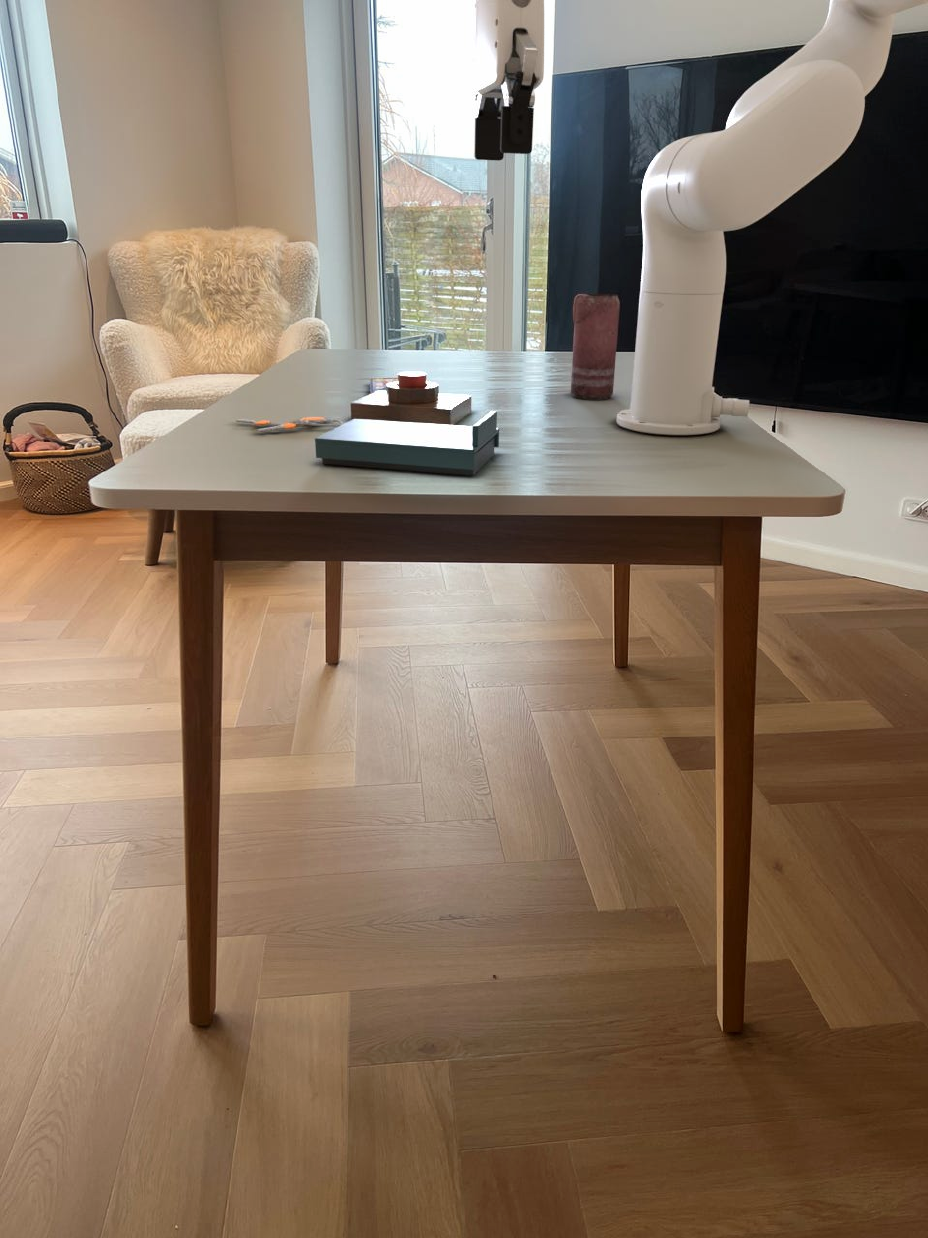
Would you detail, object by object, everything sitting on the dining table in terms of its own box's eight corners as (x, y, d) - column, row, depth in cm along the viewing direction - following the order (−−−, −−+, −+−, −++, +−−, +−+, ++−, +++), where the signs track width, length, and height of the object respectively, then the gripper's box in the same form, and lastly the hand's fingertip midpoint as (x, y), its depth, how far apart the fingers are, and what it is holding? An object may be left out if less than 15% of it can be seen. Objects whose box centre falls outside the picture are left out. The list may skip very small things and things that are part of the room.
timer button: (430, 386, 112) (429, 372, 111) (421, 390, 109) (421, 376, 108) (403, 384, 113) (403, 370, 112) (394, 389, 110) (393, 375, 109)
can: (565, 393, 129) (570, 292, 124) (607, 392, 130) (614, 292, 124) (573, 400, 124) (579, 295, 118) (616, 399, 124) (625, 295, 119)
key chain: (340, 418, 110) (340, 411, 109) (345, 430, 103) (345, 423, 103) (236, 421, 107) (235, 414, 107) (234, 434, 101) (234, 426, 100)
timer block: (471, 412, 115) (471, 381, 114) (450, 427, 106) (450, 393, 105) (378, 406, 118) (377, 376, 117) (351, 420, 109) (349, 388, 108)
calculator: (494, 455, 93) (494, 435, 92) (473, 476, 85) (473, 455, 85) (354, 445, 97) (354, 426, 96) (322, 464, 89) (320, 443, 88)
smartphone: (370, 402, 121) (370, 384, 135) (423, 400, 122) (417, 382, 135) (370, 395, 121) (369, 378, 134) (423, 393, 121) (417, 376, 135)
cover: (498, 446, 94) (499, 408, 92) (474, 470, 84) (474, 428, 83) (354, 436, 97) (353, 400, 96) (315, 457, 88) (313, 418, 87)
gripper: (576, -66, 78) (564, 151, 85) (517, -18, 93) (511, 163, 100) (495, -74, 76) (490, 148, 83) (449, -24, 91) (447, 160, 98)
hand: (501, 156), depth 91 cm, fingers open, 9 cm apart
